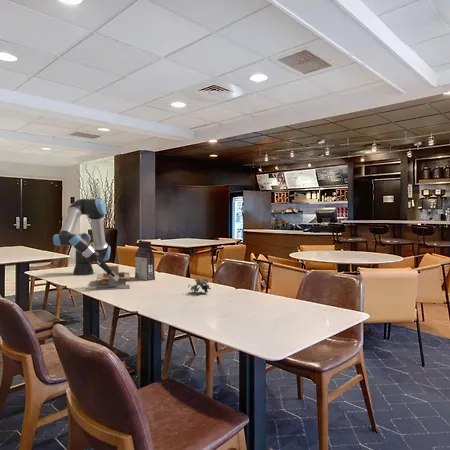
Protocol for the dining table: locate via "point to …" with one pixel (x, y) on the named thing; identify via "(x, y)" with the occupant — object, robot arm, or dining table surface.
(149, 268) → the coffee bag
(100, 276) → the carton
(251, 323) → the dining table surface
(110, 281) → the box
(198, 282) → the passion flower
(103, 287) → the mat
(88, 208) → the robot arm
